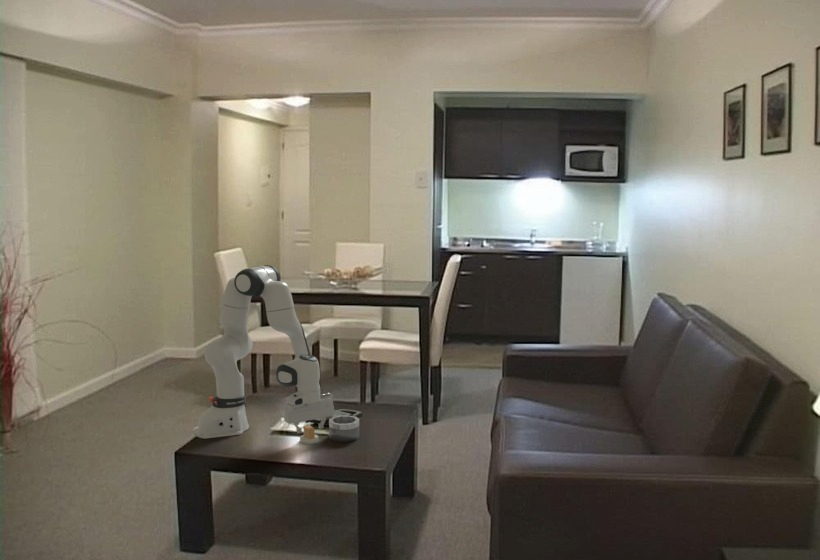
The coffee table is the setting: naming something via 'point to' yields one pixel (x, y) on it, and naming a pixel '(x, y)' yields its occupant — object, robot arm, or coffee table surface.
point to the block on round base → (309, 436)
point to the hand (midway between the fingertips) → (310, 430)
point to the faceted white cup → (344, 428)
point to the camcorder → (337, 413)
